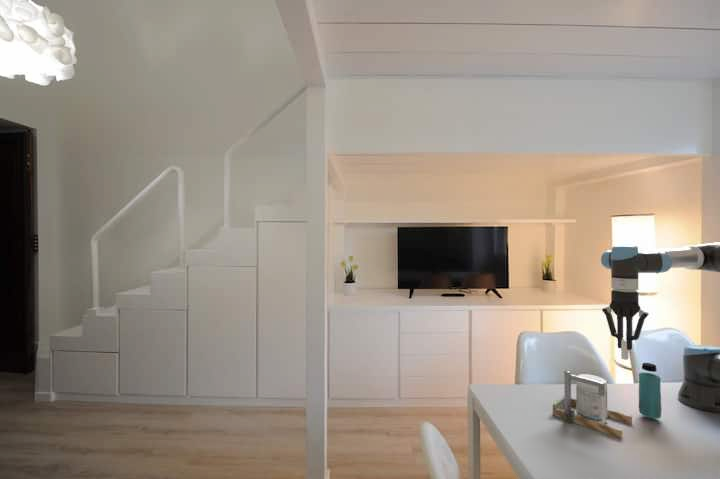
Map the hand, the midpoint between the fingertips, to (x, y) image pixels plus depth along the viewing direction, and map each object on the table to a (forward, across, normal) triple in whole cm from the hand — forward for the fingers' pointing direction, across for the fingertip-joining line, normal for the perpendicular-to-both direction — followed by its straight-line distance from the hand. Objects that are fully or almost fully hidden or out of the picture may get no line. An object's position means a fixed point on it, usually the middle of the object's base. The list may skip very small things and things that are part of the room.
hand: (624, 358), depth 122 cm
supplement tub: (+25, -10, -1) cm, 27 cm away
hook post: (+24, -10, -10) cm, 28 cm away
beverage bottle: (+25, +4, +16) cm, 30 cm away
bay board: (+24, -10, -1) cm, 26 cm away
